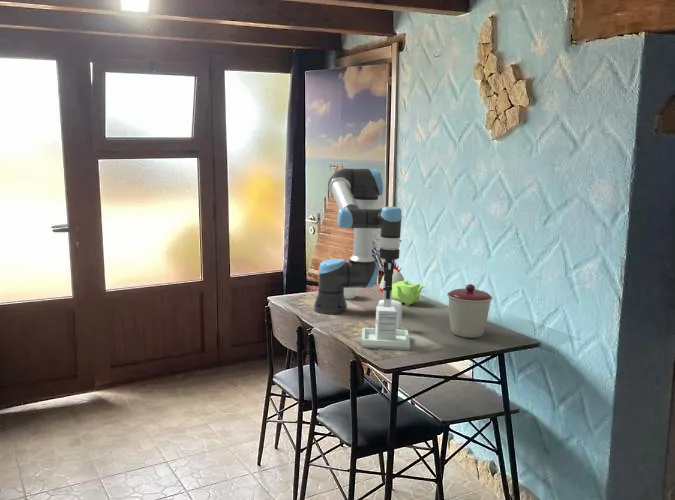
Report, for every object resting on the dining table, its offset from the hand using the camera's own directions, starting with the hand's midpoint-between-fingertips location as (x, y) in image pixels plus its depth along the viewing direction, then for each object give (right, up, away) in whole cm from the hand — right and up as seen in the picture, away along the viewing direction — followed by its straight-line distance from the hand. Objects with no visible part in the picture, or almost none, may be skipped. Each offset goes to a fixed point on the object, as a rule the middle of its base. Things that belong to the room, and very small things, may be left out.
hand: (386, 302), depth 242 cm
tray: (0, -16, +2) cm, 16 cm away
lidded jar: (-14, -4, +71) cm, 73 cm away
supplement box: (-1, -15, +2) cm, 15 cm away
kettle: (+14, -6, +64) cm, 66 cm away
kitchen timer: (+10, -2, +90) cm, 90 cm away
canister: (+34, -15, +17) cm, 41 cm away
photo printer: (+2, -13, +21) cm, 25 cm away
